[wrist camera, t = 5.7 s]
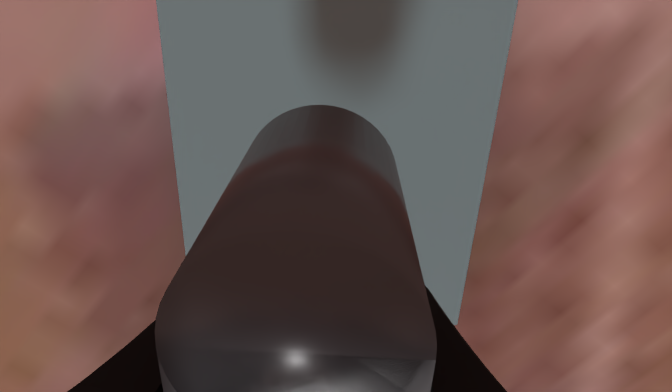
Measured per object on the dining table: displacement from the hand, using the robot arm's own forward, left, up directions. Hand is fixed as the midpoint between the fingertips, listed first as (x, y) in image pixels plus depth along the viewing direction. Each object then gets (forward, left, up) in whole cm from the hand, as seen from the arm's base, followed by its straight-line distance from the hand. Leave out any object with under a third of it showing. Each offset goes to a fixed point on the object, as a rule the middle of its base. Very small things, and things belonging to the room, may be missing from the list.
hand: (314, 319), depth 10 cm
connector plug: (0, +1, -1) cm, 2 cm away
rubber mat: (0, 0, -8) cm, 8 cm away
